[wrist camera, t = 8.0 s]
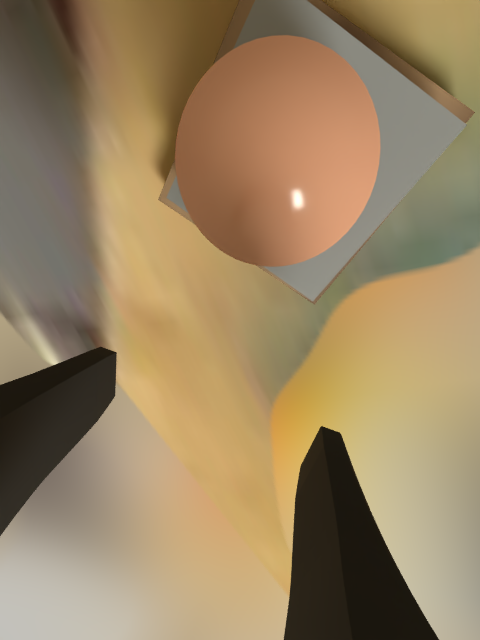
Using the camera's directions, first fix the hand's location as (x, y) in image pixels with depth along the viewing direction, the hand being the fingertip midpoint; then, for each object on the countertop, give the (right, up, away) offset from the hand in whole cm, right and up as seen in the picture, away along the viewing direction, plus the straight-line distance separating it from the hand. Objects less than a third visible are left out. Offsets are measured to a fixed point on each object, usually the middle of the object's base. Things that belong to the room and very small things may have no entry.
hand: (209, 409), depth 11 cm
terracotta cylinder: (+3, +9, +2) cm, 9 cm away
